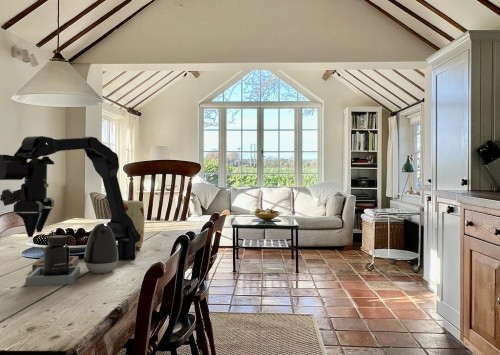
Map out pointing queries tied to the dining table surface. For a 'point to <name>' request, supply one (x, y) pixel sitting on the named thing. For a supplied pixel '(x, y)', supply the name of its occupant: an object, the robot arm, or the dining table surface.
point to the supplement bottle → (56, 257)
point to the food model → (136, 217)
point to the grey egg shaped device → (101, 250)
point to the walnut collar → (72, 262)
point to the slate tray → (52, 277)
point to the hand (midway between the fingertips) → (34, 234)
